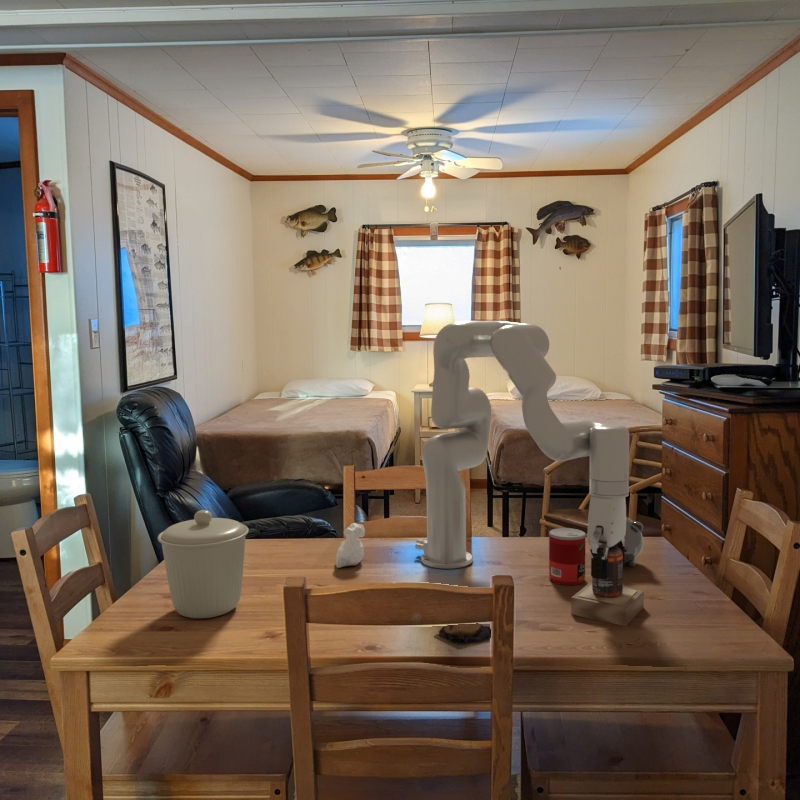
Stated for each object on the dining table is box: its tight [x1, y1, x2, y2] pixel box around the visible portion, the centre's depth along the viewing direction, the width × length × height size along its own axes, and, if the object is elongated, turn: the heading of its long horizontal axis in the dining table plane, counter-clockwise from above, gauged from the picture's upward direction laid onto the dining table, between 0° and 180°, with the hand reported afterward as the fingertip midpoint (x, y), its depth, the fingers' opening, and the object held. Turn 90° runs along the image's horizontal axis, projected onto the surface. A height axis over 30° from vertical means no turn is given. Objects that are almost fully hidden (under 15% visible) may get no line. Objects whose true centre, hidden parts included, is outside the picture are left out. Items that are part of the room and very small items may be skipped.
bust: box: [335, 522, 366, 569], centre depth 182 cm, size 12×8×11 cm
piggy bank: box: [624, 516, 644, 567], centre depth 179 cm, size 11×15×12 cm
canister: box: [157, 509, 250, 619], centre depth 154 cm, size 18×18×21 cm
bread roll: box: [433, 622, 492, 650], centre depth 140 cm, size 11×8×4 cm
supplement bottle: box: [591, 542, 624, 597], centre depth 149 cm, size 6×6×11 cm
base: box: [570, 580, 645, 627], centre depth 150 cm, size 11×11×4 cm
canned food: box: [548, 527, 587, 586], centre depth 168 cm, size 8×8×11 cm
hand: (608, 570), depth 149 cm, fingers open, 9 cm apart
